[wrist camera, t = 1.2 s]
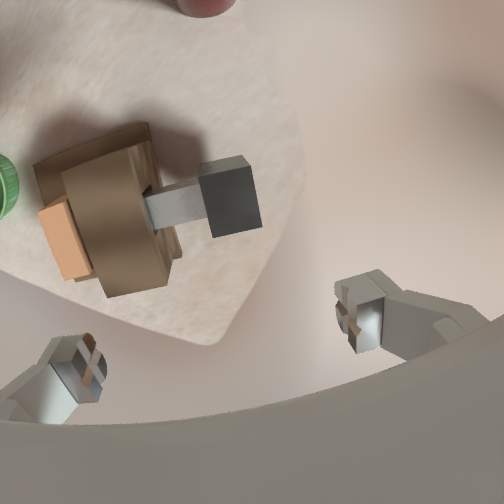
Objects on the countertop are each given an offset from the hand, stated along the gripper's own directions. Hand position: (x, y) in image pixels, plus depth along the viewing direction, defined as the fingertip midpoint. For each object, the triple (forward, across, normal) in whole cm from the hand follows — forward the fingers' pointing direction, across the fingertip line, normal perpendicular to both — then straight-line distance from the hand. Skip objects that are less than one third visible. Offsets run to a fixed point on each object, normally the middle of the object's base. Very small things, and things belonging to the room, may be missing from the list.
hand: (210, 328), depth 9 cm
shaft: (+22, +6, 0) cm, 23 cm away
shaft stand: (+27, +13, -1) cm, 30 cm away
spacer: (+22, +14, 0) cm, 26 cm away
